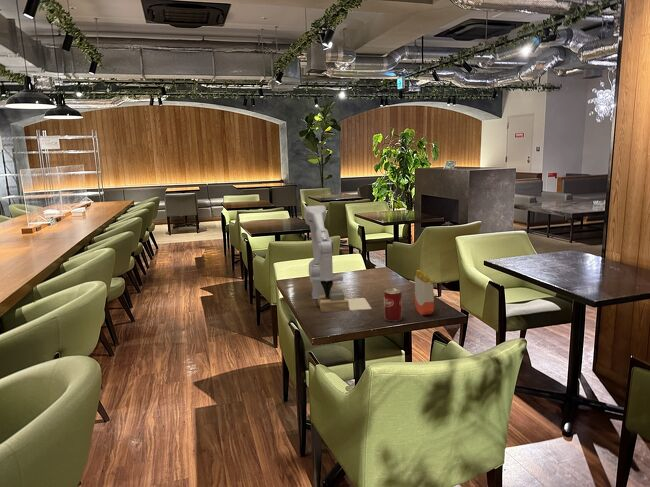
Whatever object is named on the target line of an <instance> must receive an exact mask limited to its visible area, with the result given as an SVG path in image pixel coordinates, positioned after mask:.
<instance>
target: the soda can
mask: <svg viewBox="0 0 650 487" xmlns="http://www.w3.org/2000/svg"><path fill="white" fill-rule="evenodd" d="M383 311H384V312H383V318H384V320H385V321H387V322H391V323H394V322H399V321H401V320H402V318H403V292H402V290H400V289H396V288H387V289H385V290H384V291H383Z"/></svg>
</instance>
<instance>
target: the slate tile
mask: <svg viewBox="0 0 650 487" xmlns="http://www.w3.org/2000/svg"><path fill="white" fill-rule="evenodd" d="M344 294H345V292H344V291H343V289H342V288H339V289H338V288H337V289H331V290H330V293H329V297H330V300H331V301H338V300H345V298H344Z"/></svg>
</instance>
